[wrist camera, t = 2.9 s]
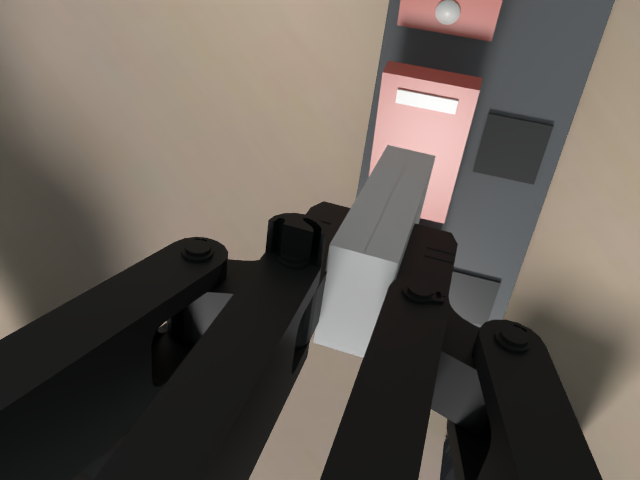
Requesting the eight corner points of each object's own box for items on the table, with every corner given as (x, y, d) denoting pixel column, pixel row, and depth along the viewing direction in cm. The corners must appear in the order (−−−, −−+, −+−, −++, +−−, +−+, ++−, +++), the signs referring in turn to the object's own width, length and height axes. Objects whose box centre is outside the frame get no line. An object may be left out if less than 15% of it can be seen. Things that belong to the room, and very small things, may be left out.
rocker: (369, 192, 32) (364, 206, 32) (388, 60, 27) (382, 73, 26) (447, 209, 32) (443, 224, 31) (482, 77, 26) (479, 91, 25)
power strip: (336, 363, 45) (318, 410, 41) (437, -211, 27) (425, -239, 23) (463, 399, 43) (459, 453, 39) (662, -189, 25) (696, -215, 21)
